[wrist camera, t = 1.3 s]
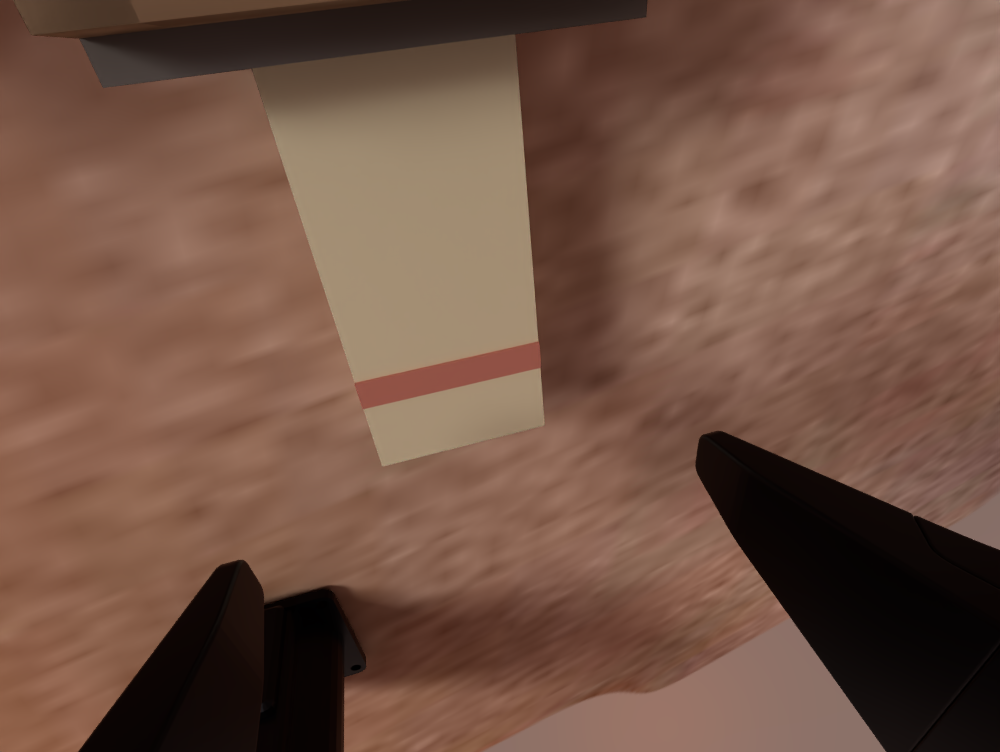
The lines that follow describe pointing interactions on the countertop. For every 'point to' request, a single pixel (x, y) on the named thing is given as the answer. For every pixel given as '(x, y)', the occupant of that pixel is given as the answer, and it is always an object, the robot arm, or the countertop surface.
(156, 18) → the brown block
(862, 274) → the countertop surface
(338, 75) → the cream striped pillar
